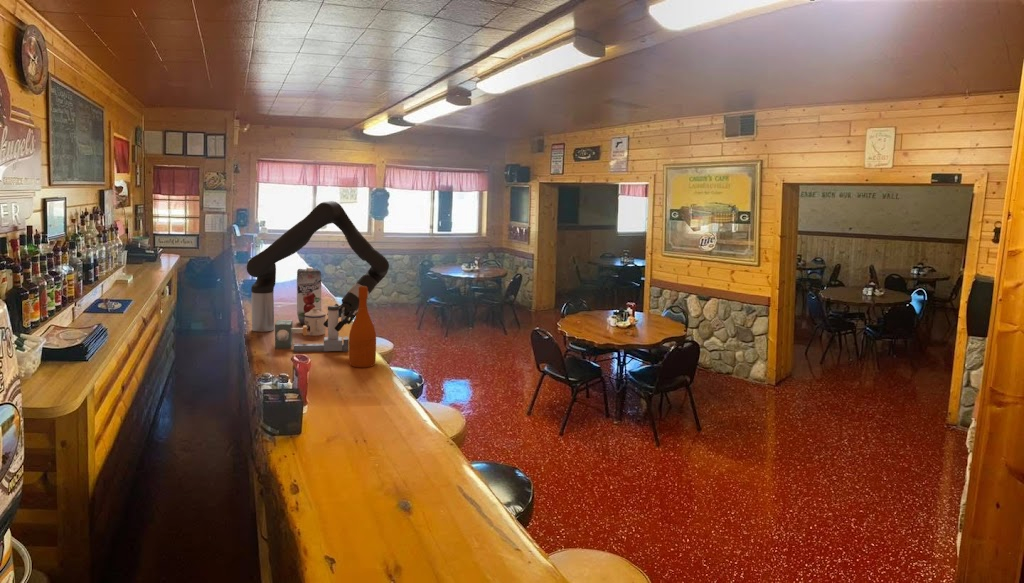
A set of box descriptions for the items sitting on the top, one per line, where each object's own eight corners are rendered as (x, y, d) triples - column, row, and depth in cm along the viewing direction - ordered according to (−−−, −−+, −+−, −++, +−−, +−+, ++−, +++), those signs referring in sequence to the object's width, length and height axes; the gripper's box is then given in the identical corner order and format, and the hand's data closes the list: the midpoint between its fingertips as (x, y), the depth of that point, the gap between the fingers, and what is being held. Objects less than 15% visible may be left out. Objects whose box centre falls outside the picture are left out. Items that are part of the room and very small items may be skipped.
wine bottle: (379, 362, 246) (380, 284, 241) (371, 369, 237) (371, 288, 232) (354, 360, 247) (354, 283, 242) (345, 367, 237) (345, 287, 233)
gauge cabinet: (277, 343, 266) (276, 320, 264) (292, 343, 267) (292, 320, 266) (275, 349, 258) (274, 324, 256) (290, 348, 259) (290, 324, 258)
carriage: (324, 347, 262) (324, 305, 259) (342, 347, 264) (342, 305, 261) (323, 351, 256) (323, 308, 253) (342, 350, 258) (342, 308, 255)
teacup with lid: (302, 332, 288) (302, 306, 286) (323, 330, 292) (322, 305, 290) (308, 338, 278) (308, 311, 276) (329, 336, 282) (329, 310, 280)
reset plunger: (284, 333, 264) (284, 325, 263) (307, 333, 266) (307, 325, 265) (283, 335, 261) (283, 327, 260) (306, 335, 263) (306, 327, 262)
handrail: (294, 349, 259) (294, 337, 258) (348, 348, 264) (348, 336, 263) (293, 352, 254) (293, 340, 253) (348, 351, 259) (348, 339, 258)
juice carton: (296, 321, 308) (296, 265, 303) (319, 320, 312) (319, 265, 308) (298, 325, 300) (298, 268, 295) (322, 324, 304) (322, 267, 300)
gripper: (340, 288, 267) (315, 319, 260) (359, 294, 257) (334, 325, 251) (351, 300, 271) (327, 330, 265) (371, 305, 262) (346, 337, 255)
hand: (330, 328), depth 258 cm, fingers open, 8 cm apart
